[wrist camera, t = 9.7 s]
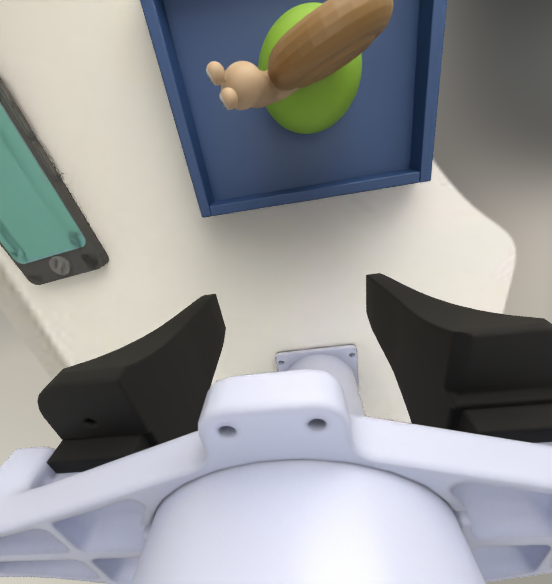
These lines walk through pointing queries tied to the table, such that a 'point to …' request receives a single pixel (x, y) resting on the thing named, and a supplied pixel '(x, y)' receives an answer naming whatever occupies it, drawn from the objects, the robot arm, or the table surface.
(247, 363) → the table surface
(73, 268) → the smartphone
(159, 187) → the table surface
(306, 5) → the snail figurine
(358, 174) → the tray
